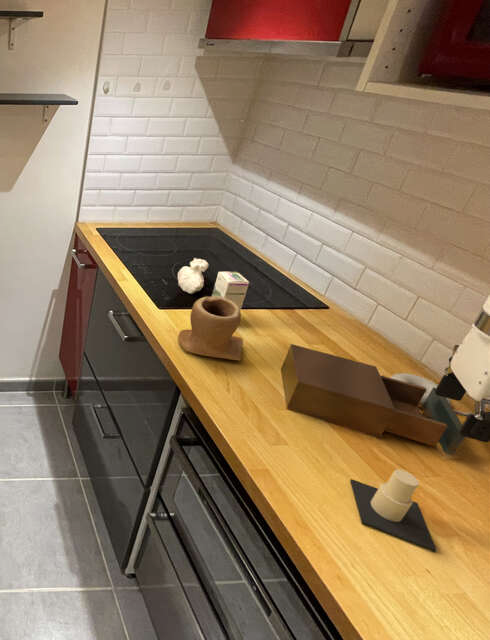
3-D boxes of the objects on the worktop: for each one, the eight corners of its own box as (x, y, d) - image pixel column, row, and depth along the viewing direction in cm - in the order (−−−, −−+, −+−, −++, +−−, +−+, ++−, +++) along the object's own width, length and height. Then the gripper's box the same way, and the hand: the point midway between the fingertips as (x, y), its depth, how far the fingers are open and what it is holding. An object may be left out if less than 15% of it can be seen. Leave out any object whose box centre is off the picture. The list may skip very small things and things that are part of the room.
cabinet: (362, 393, 101) (376, 366, 98) (379, 438, 89) (395, 409, 86) (280, 369, 108) (290, 343, 105) (286, 408, 96) (298, 381, 93)
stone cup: (180, 359, 110) (195, 308, 104) (175, 332, 121) (188, 284, 115) (249, 373, 106) (269, 321, 100) (238, 344, 116) (254, 295, 110)
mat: (415, 505, 76) (417, 502, 76) (435, 552, 69) (436, 550, 69) (349, 481, 80) (351, 478, 80) (361, 523, 73) (363, 521, 73)
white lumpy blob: (196, 304, 138) (226, 279, 134) (180, 290, 136) (210, 265, 133) (180, 284, 149) (207, 261, 145) (165, 271, 147) (192, 248, 144)
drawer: (459, 418, 93) (473, 397, 91) (489, 467, 82) (505, 444, 80) (343, 385, 102) (353, 365, 99) (356, 425, 91) (367, 403, 89)
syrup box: (236, 327, 123) (251, 281, 117) (214, 326, 124) (228, 281, 118) (225, 315, 129) (239, 271, 123) (205, 315, 129) (217, 270, 123)
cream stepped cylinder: (397, 506, 75) (418, 473, 72) (405, 526, 72) (427, 493, 69) (367, 495, 77) (386, 462, 74) (373, 514, 74) (393, 481, 71)
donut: (391, 402, 99) (454, 420, 94) (397, 390, 97) (461, 408, 92) (381, 376, 106) (438, 391, 102) (387, 364, 105) (445, 379, 100)
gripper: (591, 372, 57) (520, 467, 64) (518, 307, 70) (467, 390, 77) (507, 354, 60) (449, 445, 67) (454, 295, 74) (410, 376, 81)
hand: (458, 416), depth 72 cm, fingers open, 9 cm apart
